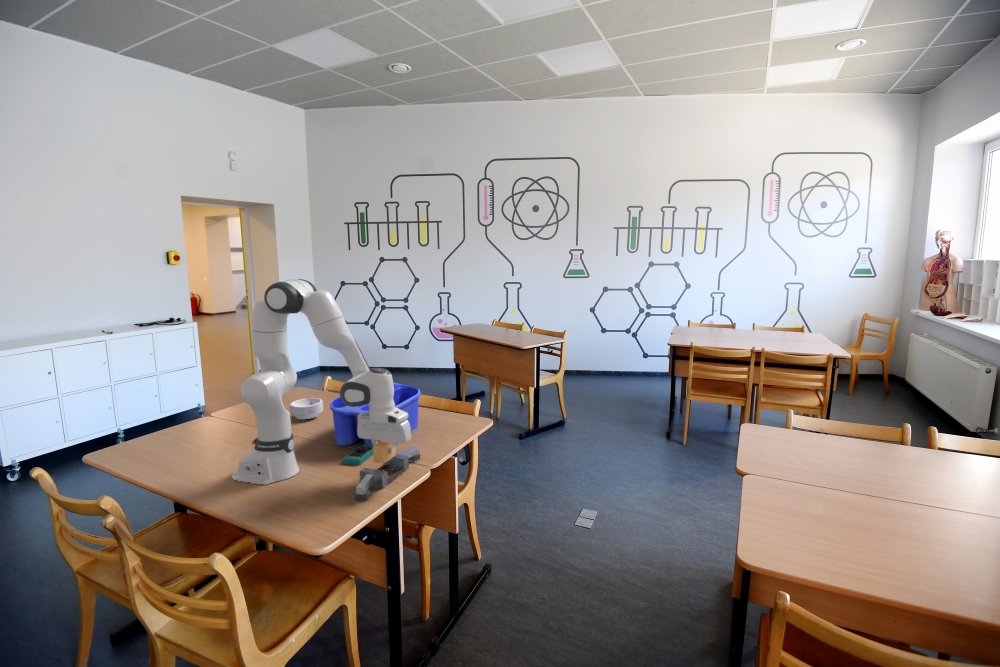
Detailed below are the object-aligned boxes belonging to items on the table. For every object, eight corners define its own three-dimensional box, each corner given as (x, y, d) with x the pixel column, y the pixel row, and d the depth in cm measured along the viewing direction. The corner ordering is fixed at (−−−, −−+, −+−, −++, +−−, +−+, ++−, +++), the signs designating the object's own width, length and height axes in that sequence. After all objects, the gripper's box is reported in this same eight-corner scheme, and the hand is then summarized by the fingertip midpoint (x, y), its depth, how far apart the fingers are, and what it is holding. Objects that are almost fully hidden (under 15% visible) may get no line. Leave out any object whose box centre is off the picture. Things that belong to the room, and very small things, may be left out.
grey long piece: (365, 502, 160) (364, 487, 160) (341, 498, 163) (340, 483, 163) (422, 458, 194) (421, 446, 194) (402, 455, 198) (401, 443, 197)
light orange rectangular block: (383, 463, 174) (382, 446, 173) (374, 462, 175) (372, 445, 174) (396, 454, 181) (395, 438, 180) (386, 453, 182) (385, 437, 181)
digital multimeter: (378, 451, 203) (377, 444, 203) (359, 466, 189) (359, 459, 189) (361, 450, 205) (361, 443, 205) (342, 465, 191) (341, 457, 190)
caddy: (433, 420, 239) (431, 372, 236) (384, 456, 197) (381, 398, 194) (374, 415, 249) (371, 369, 245) (316, 448, 207) (312, 393, 203)
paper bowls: (283, 421, 242) (282, 405, 240) (304, 411, 256) (303, 396, 255) (310, 423, 237) (309, 407, 236) (330, 414, 252) (329, 398, 250)
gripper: (351, 414, 176) (354, 451, 178) (402, 419, 169) (405, 458, 171) (362, 409, 182) (365, 445, 184) (412, 413, 175) (414, 451, 177)
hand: (384, 451), depth 178 cm, fingers closed on light orange rectangular block, 4 cm apart
